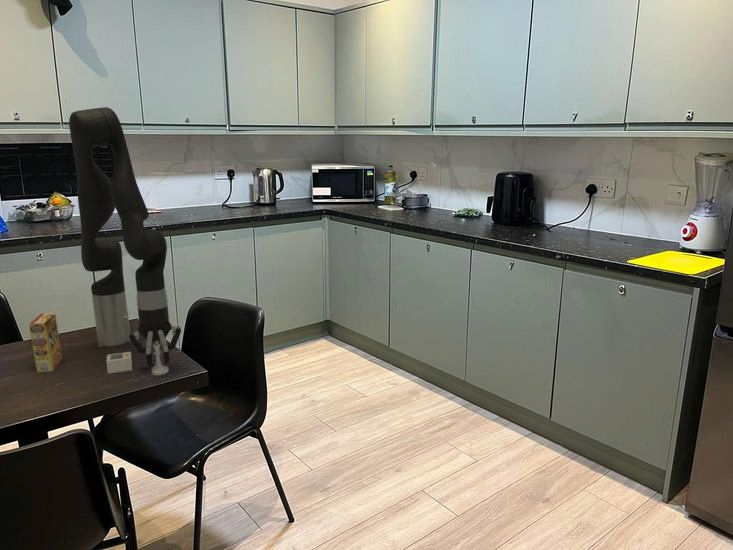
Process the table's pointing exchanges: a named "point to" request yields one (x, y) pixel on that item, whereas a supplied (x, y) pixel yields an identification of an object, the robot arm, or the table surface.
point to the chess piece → (158, 362)
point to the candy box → (45, 342)
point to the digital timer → (119, 362)
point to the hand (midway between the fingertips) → (158, 364)
